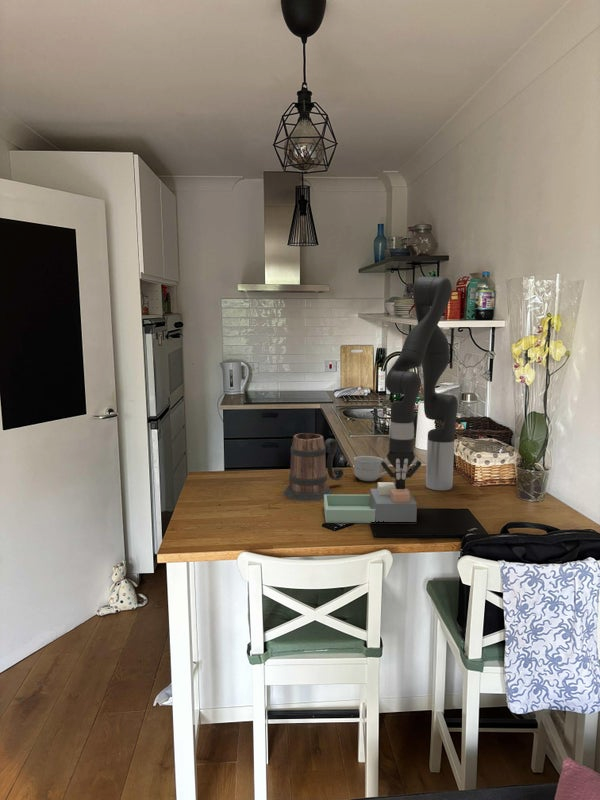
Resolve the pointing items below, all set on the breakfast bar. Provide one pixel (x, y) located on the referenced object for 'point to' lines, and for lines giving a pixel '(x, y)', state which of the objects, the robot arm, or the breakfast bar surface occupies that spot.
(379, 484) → the cream tile
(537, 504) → the breakfast bar surface
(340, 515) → the box
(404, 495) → the terracotta tile
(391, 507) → the grey drawer casing
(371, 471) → the teacup
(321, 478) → the tankard
